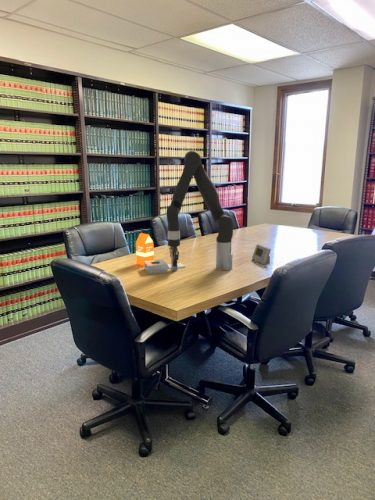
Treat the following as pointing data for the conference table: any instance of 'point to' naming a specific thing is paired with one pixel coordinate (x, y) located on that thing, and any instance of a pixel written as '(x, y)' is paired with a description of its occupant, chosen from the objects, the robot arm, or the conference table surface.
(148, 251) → the orange juice
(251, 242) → the conference table surface
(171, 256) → the key
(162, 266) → the block
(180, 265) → the pad
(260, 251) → the digital clock
